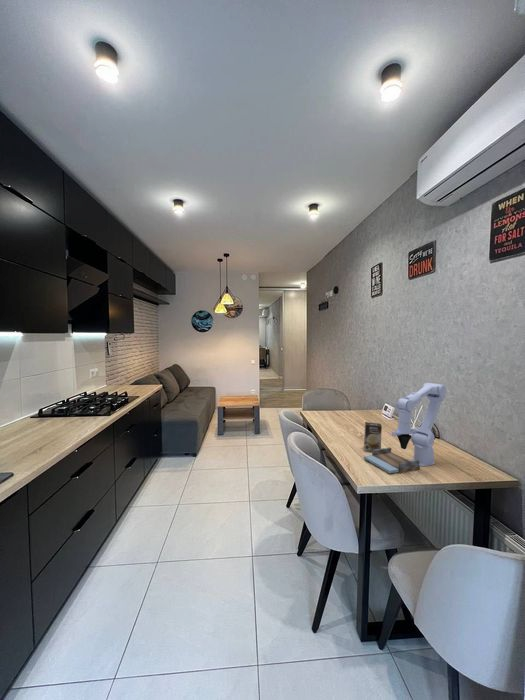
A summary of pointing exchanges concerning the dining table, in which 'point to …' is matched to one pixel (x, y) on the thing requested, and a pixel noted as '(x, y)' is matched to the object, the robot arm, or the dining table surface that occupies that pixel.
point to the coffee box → (372, 436)
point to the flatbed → (396, 460)
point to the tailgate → (381, 464)
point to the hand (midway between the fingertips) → (403, 448)
